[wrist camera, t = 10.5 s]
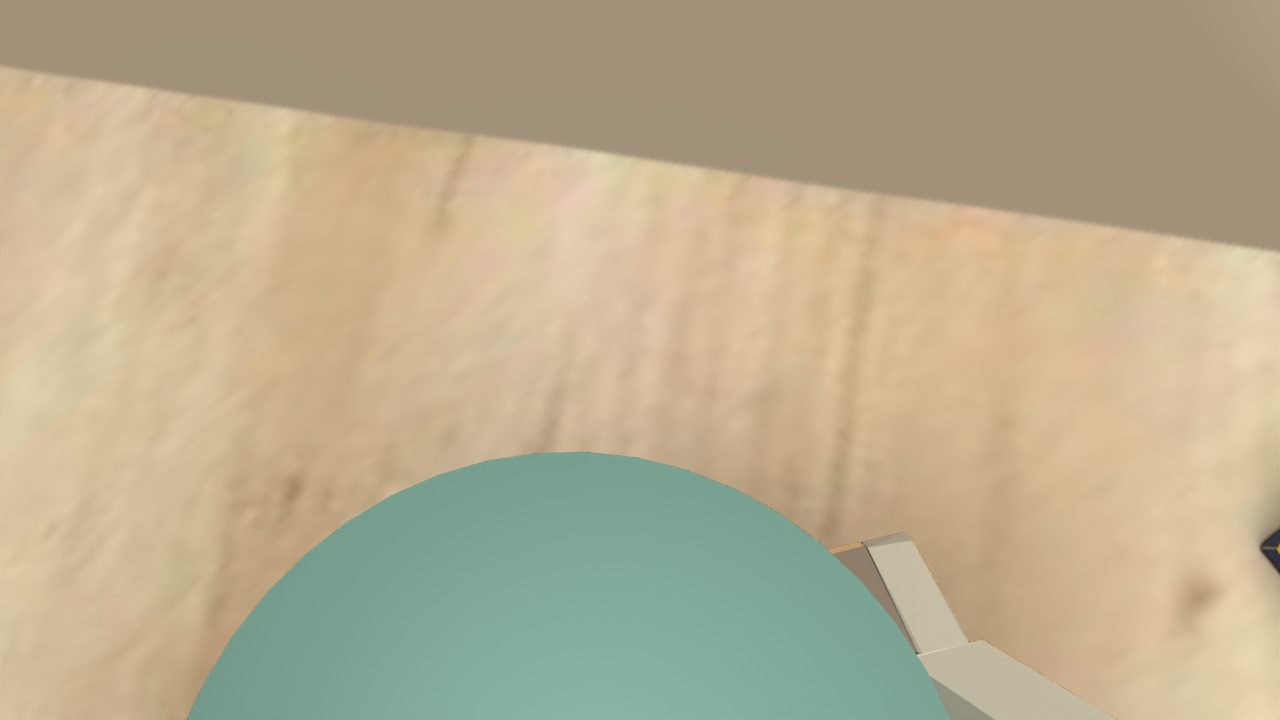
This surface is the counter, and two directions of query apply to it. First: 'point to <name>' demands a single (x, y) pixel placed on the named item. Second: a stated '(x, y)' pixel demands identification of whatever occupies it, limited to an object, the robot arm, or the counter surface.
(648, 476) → the teal pin
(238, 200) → the counter surface
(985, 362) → the counter surface
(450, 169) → the counter surface
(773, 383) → the counter surface
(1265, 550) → the supplement box
